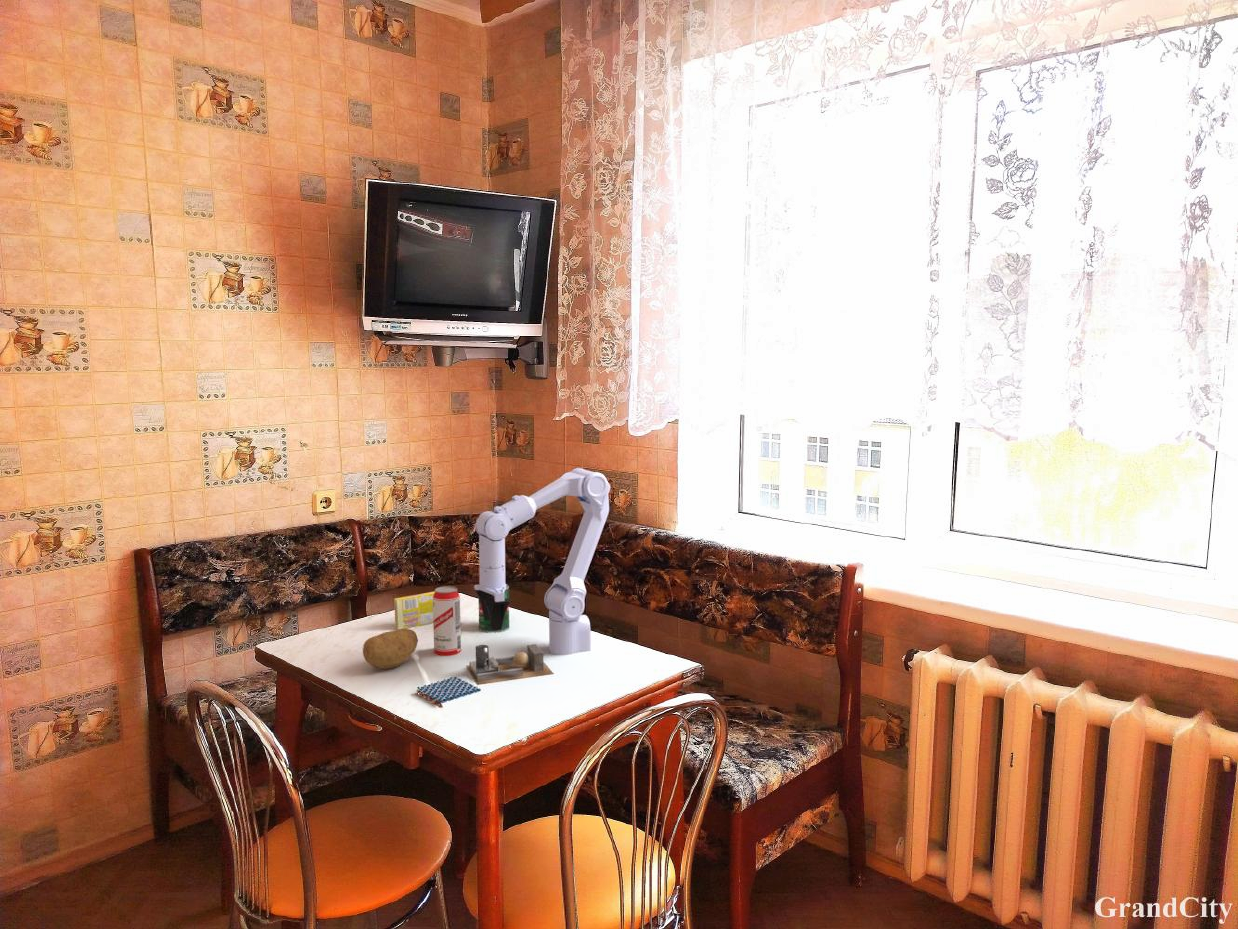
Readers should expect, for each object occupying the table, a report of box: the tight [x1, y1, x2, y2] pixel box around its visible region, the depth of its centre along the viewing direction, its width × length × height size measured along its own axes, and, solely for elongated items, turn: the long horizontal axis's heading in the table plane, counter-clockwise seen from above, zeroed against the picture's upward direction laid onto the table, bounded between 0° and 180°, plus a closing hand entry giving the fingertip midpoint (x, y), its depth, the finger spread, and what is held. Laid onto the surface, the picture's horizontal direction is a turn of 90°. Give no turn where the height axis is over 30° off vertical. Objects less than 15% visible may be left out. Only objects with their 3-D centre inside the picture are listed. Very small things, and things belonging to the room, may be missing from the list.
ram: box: [470, 644, 498, 679], centre depth 187 cm, size 5×6×6 cm
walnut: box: [513, 651, 529, 668], centre depth 190 cm, size 4×4×4 cm
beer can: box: [432, 585, 462, 657], centre depth 200 cm, size 6×6×16 cm
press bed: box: [465, 643, 555, 686], centre depth 189 cm, size 17×12×5 cm
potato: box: [362, 628, 419, 669], centre depth 194 cm, size 10×14×8 cm
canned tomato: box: [477, 583, 510, 634], centre depth 221 cm, size 8×8×11 cm
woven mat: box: [416, 676, 481, 708], centre depth 178 cm, size 10×11×2 cm
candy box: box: [393, 590, 435, 630], centre depth 224 cm, size 16×2×8 cm, turn 126°
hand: (492, 624), depth 192 cm, fingers open, 7 cm apart
